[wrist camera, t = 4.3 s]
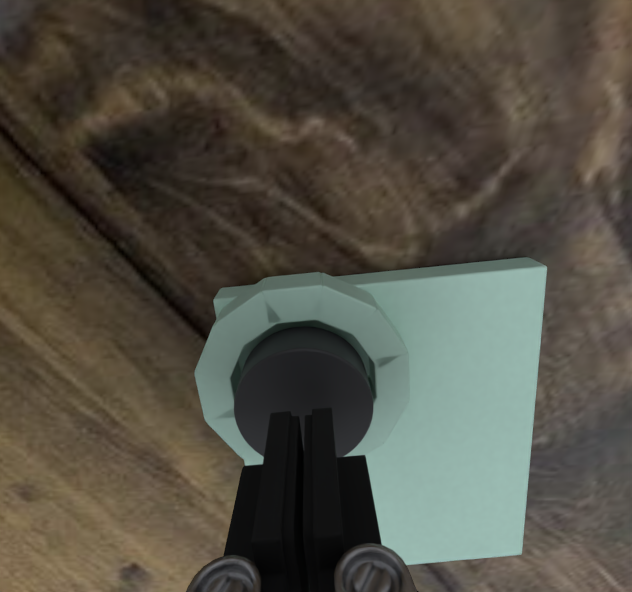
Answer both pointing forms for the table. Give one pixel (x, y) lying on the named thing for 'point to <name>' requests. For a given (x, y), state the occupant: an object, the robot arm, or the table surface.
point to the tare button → (304, 385)
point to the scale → (413, 390)
